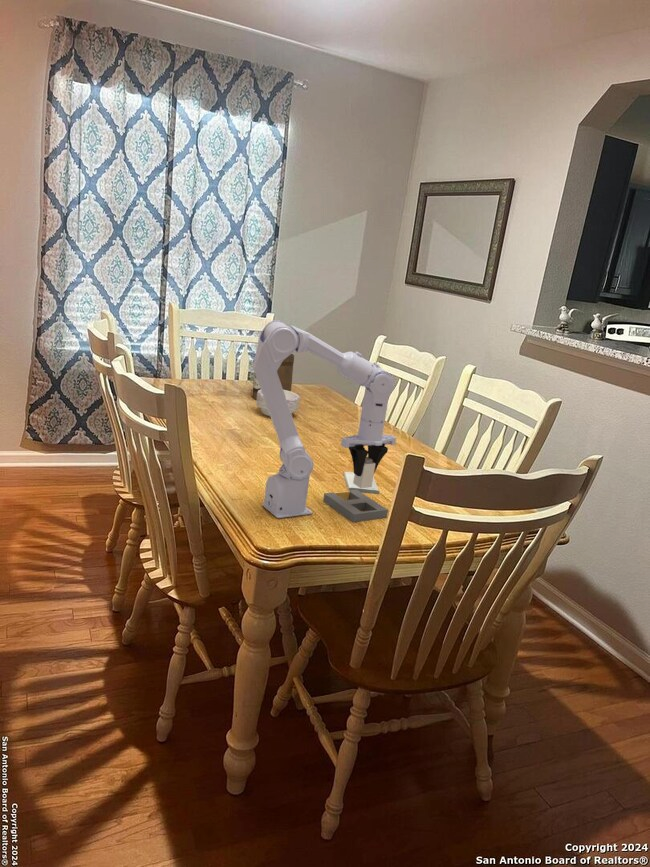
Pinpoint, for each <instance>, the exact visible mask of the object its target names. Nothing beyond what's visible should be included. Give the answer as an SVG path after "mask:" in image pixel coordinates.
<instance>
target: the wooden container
mask: <svg viewBox="0 0 650 867" xmlns="http://www.w3.org/2000/svg"><path fill="white" fill-rule="evenodd" d="M294 363H295V354H293V353H292V354H290V355H289V356H288V357H287V358H286V359H284V360H283V362H282V363H281V365H280V367H279V368H278V370H277V373H278V376H279V379H280V382H281V385H282V388H283V390H287V391H291V392H292V384H293V383H292V382H293V372H294ZM260 389H261V388H260V385H259V383H258V380H257V377H256V374H255V372H254V374H253V381H252V393H251V398H252V399H253V400H255V401H256V400H257V392H258V390H260Z"/></svg>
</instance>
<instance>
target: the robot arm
mask: <svg viewBox="0 0 650 867" xmlns="http://www.w3.org/2000/svg"><path fill="white" fill-rule="evenodd" d="M257 340H258V341H257V347H256V350H255V354H254V355H255V356H254V360H253V362H252V363H253V364H252V367H253V371H254V373H255V374H256V377H257V380H258V383H259V385H260V388H261V391H262V394H263V397H264V400H265V402H266V405H267V408H268V411H269V414H270V419H271V422H272V425H273V427H274V431H275V433H276V436H277V440H278V444H279V448H280V450H279V459H280V461H281V462H282V465H281V466H280V467H279V469H278V472H277V473H275V474H274V475H271V476H270V475H269V476H268V478H267V480H266V483H265V491H264V499H263V503H261V506H263V507H264V508H265V509H266V510H267V511H268V512H270V513H271V514H272V515H273V516H274V517H275V518H277V519H282V518H283V519H284V518H291V517H298V516H306V515H312V514H313V511H312V510H311V509H310V508H308V507H307V506H306V505H307V499H308V490H309V485H310V484H309V483H310V476H311V474H312V472H313V470H314V461H313V460H314V459H312V456H310V455H309V453H308V452H307V450H306V448H305V445H303V443H302V441H301V440H302V439H301V438H300V434H299V432H298V430H297V426H296V423H295V420H294V418H293V415H292V414H291V412H290V409H289V406H288V403H287V400H286V397H285V394H284V391H283V388H282V385H281V382H280V379H279V376H278V373H277V370H278V368H279V367H280V365H281V363H282V362H283V360H284V359H286V358H287V357H288V356H289V355H290V354H293V353H294V352H296V353H298V354H299V353H305V352H309V353H312V354H313V355H315V356H317V357H318V358H321V359H323V360H325V361H326V362H329V363H330V364H333V365H334V366H336V368H337V373H338V374H339V375H340V376H343V377H344V378H346V379H347V380H350V381H351V382H352V383H355V384H357V385H358V386H360V387H364V388H365V389H364V395H363V399H362V407H361V413H360V418H359V419H360V420H359V425H358V432H357V434H354V435H350V436H346V437H342V438H341V441H340V446H341V447H343V448H344V449H349V453H350V456H351V459H352V466H353V472H354V474H356V475H357V476H361V475H362V471H363V466H364V462H365V459H366V457H369V458H371V459H372V462H374V463H376V464H375V470H374V474H375V472H376V470H377V468H378V466H379V464H380V462H381V461H382V460H383V458H384V456H386V455H387V453H388V451H389V450H388V449H389V447H387V446H388V445H390V446H395V445H396V443H397V436H394V435H392V434H384V429H385V428H384V427H385V422H386V418H387V417H386V416H387V410H388V405H389V399H390V398H389V397H390V395H392V393H393V392H394V390H395V387H396V385H395V381H394V377H393V376H392V374H391V373H389V372H388V371H386V370H385V369H383V368H382V367H381V366H380V365H379V363H377V362H373V363H372V362H371V361H370V360H367V359H366V358H364V357H363V353H360V352H358V351H357V350H356V351H355V352H354V351H346V352H341V351H340V350H338V349H336V348H335V347H333V346H331V345H330V344H328V343H327V342H325V341H323V340H321V339H320V338H318V337H316V336H314V335H313V334H311V333H310V332H308V331H306V330H304V329H301V328H299V327H297V326H294V325H292V324H290V325H288V324H287V323H286V322H284V320H283V321H282V320H278V319H274V320H272V321H269V322H268V323H267V324H265V325H264V328H263V329H262V330H261V331H260V334H258V338H257ZM386 445H387V446H386ZM366 446H367V449H365V447H366Z"/></svg>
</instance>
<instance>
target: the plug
mask: <svg viewBox="0 0 650 867" xmlns="http://www.w3.org/2000/svg"><path fill="white" fill-rule="evenodd" d="M375 464H376V463H374V462H372V459H371V458H369V457H368V456H367V457H366V459H365V462H364V466H363V471H362V475H361V476H357V475H356V474H355V475H354V481H353V484H355V485H357V486H358V487H360V488H368V487H372V482H373V477H374V475H375V473H374V470H375Z"/></svg>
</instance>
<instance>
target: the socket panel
mask: <svg viewBox="0 0 650 867" xmlns="http://www.w3.org/2000/svg"><path fill="white" fill-rule="evenodd" d="M322 501H323V502H324V503H326V504H327V505H328V506H330V507H331V508H332V509H334V510H335V511H336V512H338V513H339V514H341V515H342V516H343V517H345V518H346V519H348V520H349V521H351V522H352V523H358V522H363V521H372V520H378V519H379V520H380V519H385V518H387V517H388V512H389V509H387V508H386V507H385V506H383V505H381V504H380V503H378V502H377V501H375V500H373V499H372V498H371V497H369V496H368V495H366V494H365V493H361V492H360V491H358V490H349V491H348V490H343V491H334V492H326V493H323V498H322Z"/></svg>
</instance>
